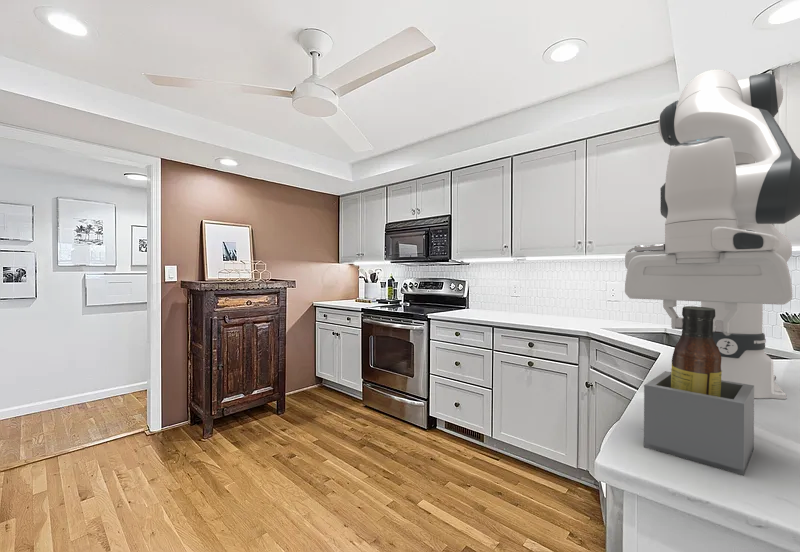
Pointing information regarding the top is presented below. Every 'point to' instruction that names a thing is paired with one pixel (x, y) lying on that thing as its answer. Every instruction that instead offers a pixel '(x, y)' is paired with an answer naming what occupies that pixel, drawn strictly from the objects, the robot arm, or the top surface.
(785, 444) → the top surface
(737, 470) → the bin
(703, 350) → the sauce bottle
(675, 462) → the top surface
